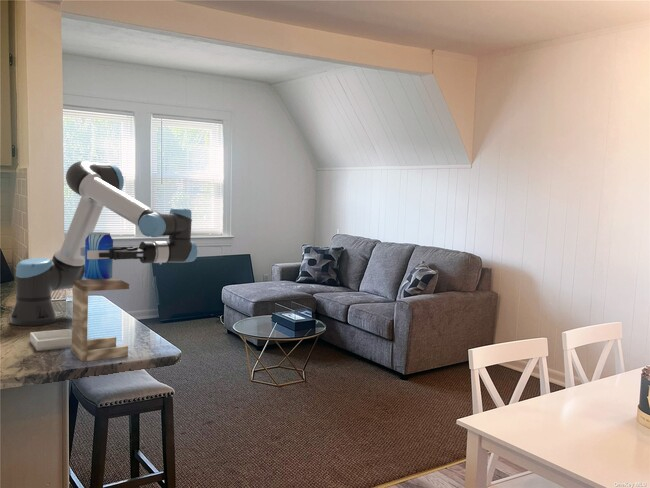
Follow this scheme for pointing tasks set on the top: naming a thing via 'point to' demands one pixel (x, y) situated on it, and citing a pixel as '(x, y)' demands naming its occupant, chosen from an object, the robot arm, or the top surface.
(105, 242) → the beer can
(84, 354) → the dock
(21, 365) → the top surface
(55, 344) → the tray
